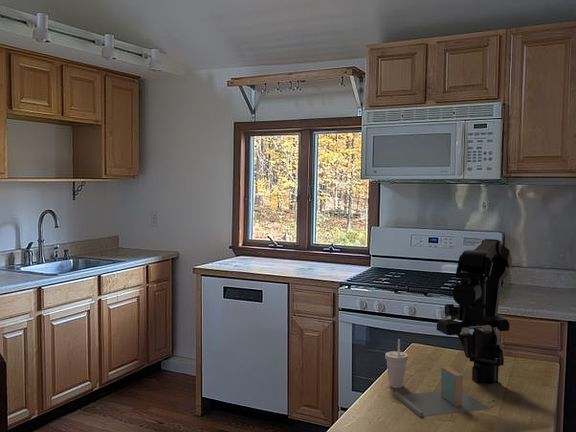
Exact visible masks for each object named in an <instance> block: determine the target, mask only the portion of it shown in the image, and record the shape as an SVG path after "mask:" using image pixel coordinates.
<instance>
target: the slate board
mask: <svg viewBox="0 0 576 432" xmlns="http://www.w3.org/2000/svg"><path fill="white" fill-rule="evenodd" d="M393 394H394V396H393V397H395V398H396V399H397V400H399V401H400V402H401V403H402V404H404V405H405V407H407V408H408V409H409V410H410V411H412V412H413V413H414V414H416V415H417V416H418V417H419V418H422V417H431V416H440V415H446V414H454V413H455V414H456V413H465V412H470V411H471V412H473V411H480V410H490V409H491V407H489V406H487V405H486V404H484V403H482V401H480V400H478V399H477V398H475V397H473V396H471V394H469V393H467V392H466V391H464V389H462V406H454V405H453V404H451V403H450V402H448V401H447V400H446V399H444V398H443V397H441V390H436V391H434V390H433V391H428V392H427V391H425V392H419V393H418V392H417V393H409V394H401V393H400V392H399V391H394V393H393Z"/></svg>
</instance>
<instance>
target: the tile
mask: <svg viewBox="0 0 576 432" xmlns="http://www.w3.org/2000/svg"><path fill="white" fill-rule="evenodd" d="M440 371H441V378H440V380H441V381H440V382H441V384H440V391H441V397H443V398H444V399H446V400H447V401H448V402H450V403H451V404H453V405H454V406H462V390H464V389H463V383H464V375H463V374H462V373H460V372H458V371H457V370H456V369H453V368H452V367H450V366H441V370H440Z"/></svg>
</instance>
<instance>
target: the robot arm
mask: <svg viewBox="0 0 576 432" xmlns="http://www.w3.org/2000/svg"><path fill="white" fill-rule="evenodd" d="M512 261H513V259H512V255H511V250H510V249H509V248H507V247H506V246H504V245H503V243H502V241H501V240H499V239H495V238H485V239H481V242H480V244H479V245H478V246H477V247H476V248H475V249H467V250H464V251H462V253H461V254H459V257H458V263H457V266H456V271H455V278H456V279H460V282H459V283H458V284H457V285H455V287H454V288H453V290H452V298H453V300H454V302H455V303H456V304H458V306H455V305H454V304H453V303H447V304H444V309H443V310H444V311H443V312H444V316H445V317H450V318H446V319H445V318H444V319H439V320H438V321H437V323H436V330H437V331H438V332H440V333H442V334H444V335H446V336H457V337H458V339H459V341H460V343H461V346H462V350H463V353H464V356H465V358H467V359H469V363H470V362H471V363H472V362H473V366H472V370H471V381H473V382H475V383H476V384H483V385H484V384H485V385H492V384H493V385H494V384H495V383H497V384H498V385H500V386H502V383H501V382H500V381H499V367H501V366H504V365H505V356H504V351H503V349H502V348H503V347H502V344H501V340H500V337H499V335H498V333H497V331H496V329H497V330H498V331H499V332H510V327H511V324H510V322H509V320H508V318H507V319H506V318H504V317H501V316H499V315H498V312H499V304H500V298H501V296H500V295H501V287H502V282H503V281H504V280H505V279H506V278H507V277H508V275H509V270H510V269H511V267H512ZM456 320H457V321H456ZM458 321H459V322H458ZM470 330H473V331H472V334H471V333H470V332H471V331H470Z"/></svg>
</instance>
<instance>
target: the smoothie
mask: <svg viewBox="0 0 576 432" xmlns="http://www.w3.org/2000/svg"><path fill="white" fill-rule="evenodd" d="M400 348H401V339H400V338H398V339H397V351H395V350H393V351H391V350H390V351H388V352H385V356H384V358H385V359H386V367H387V376H388V386H389V387H390V388H395V389H400V388H403V387H404V383H405V375H406V369H407V361H408V360H409V354H408V353H406V352H403V351H401V349H400Z"/></svg>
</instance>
